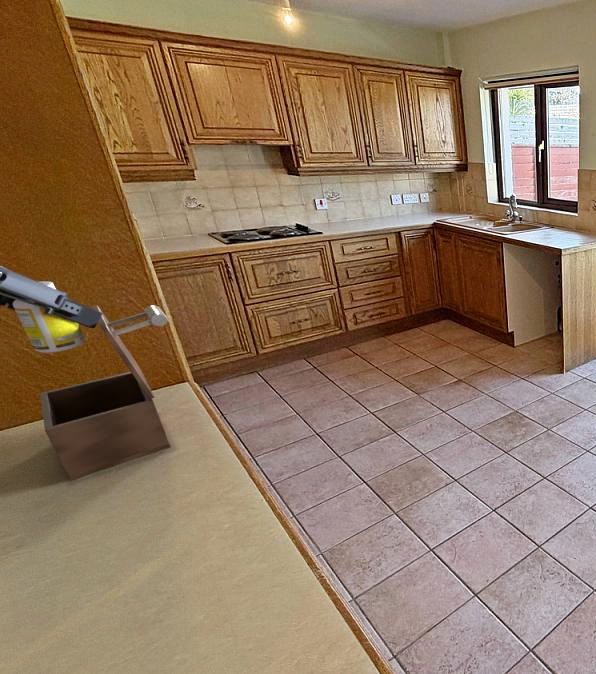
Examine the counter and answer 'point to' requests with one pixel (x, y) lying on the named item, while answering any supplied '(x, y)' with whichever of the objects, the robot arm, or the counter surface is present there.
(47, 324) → the supplement bottle
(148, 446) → the chest
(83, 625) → the counter surface
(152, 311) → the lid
